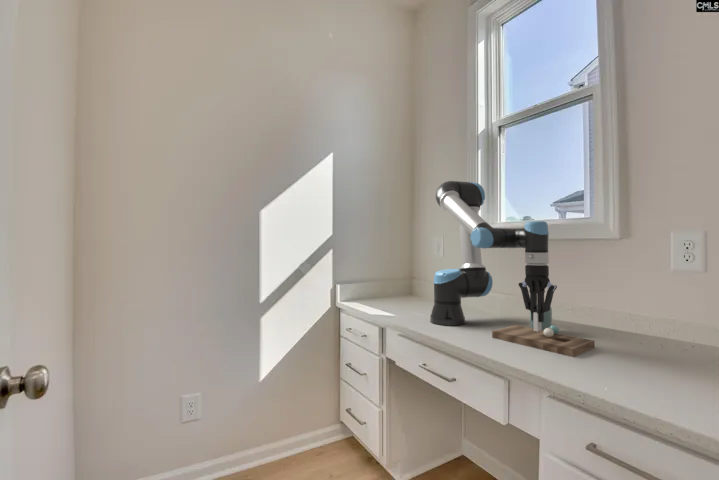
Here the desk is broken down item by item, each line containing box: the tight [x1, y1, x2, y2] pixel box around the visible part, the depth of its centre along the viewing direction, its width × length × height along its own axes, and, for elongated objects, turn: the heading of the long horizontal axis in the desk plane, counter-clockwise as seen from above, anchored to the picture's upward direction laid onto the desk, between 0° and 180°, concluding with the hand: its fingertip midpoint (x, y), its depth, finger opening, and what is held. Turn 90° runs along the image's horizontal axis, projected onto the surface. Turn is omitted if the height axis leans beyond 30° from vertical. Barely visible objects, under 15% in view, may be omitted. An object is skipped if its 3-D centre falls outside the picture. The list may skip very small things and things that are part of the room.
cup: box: [529, 306, 553, 330], centre depth 141 cm, size 8×8×10 cm
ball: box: [543, 328, 554, 337], centre depth 123 cm, size 3×3×3 cm
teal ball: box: [549, 324, 560, 334], centre depth 126 cm, size 3×3×3 cm
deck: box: [491, 324, 596, 358], centre depth 125 cm, size 28×16×2 cm, turn 36°
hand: (537, 330), depth 126 cm, fingers closed
